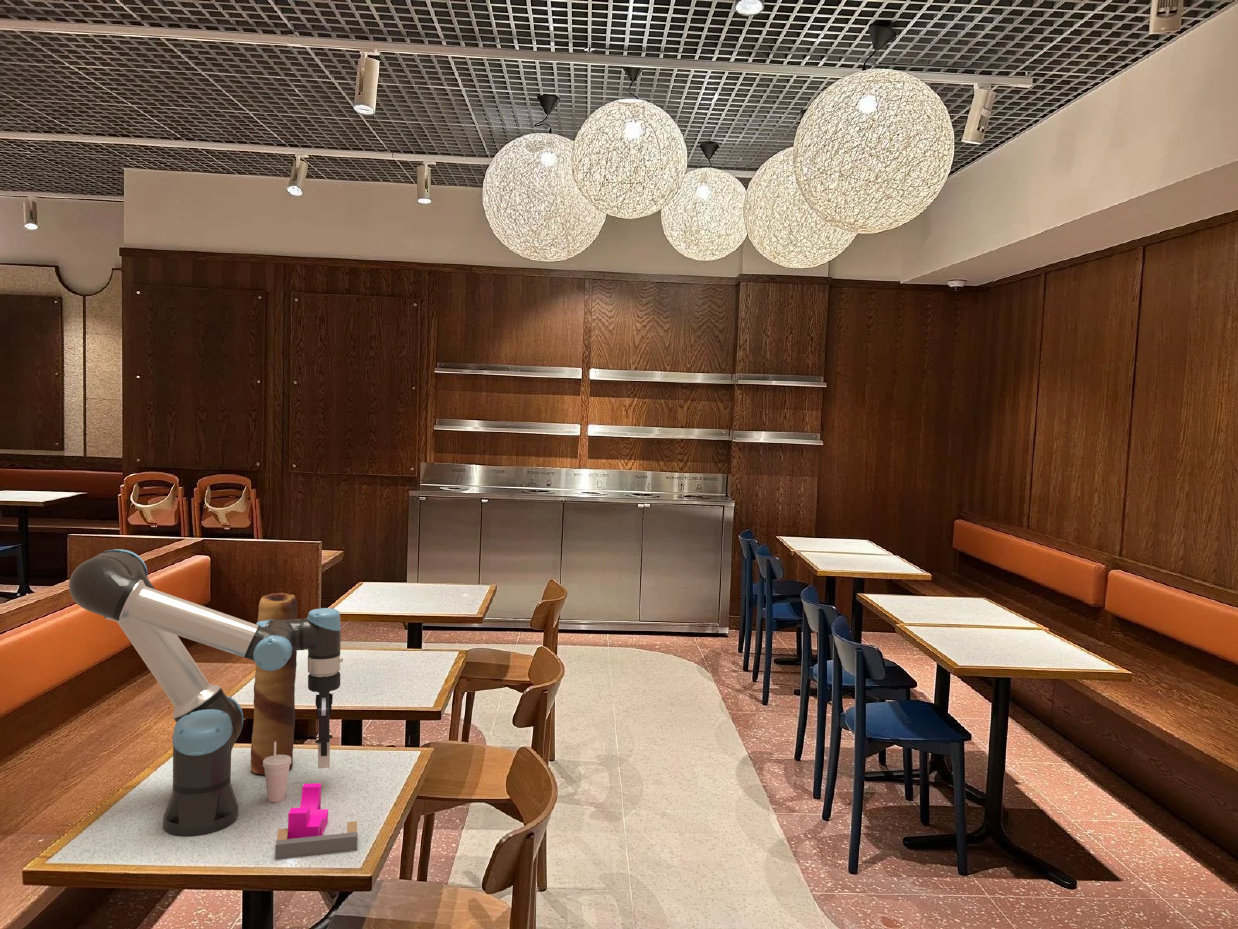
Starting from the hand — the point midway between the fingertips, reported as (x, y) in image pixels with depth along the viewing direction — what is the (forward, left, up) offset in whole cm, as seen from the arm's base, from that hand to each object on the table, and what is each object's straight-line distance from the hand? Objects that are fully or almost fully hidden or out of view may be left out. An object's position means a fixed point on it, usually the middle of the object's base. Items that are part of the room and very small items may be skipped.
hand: (323, 767), depth 209 cm
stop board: (0, -33, -5) cm, 34 cm away
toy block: (-2, -22, -6) cm, 23 cm away
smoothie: (-10, -4, -5) cm, 13 cm away
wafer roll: (-13, +15, -5) cm, 20 cm away
